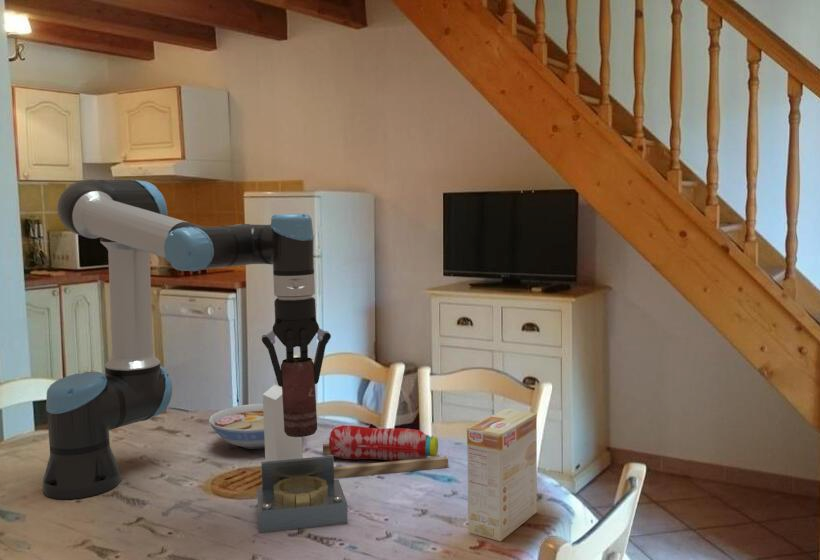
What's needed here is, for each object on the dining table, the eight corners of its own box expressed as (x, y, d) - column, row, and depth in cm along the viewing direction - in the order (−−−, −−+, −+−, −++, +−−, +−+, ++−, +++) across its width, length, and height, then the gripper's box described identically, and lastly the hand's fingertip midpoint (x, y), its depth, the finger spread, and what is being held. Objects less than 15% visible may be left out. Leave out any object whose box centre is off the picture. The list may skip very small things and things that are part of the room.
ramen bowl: (226, 429, 198) (224, 399, 197) (312, 429, 197) (311, 398, 196) (195, 462, 173) (193, 427, 172) (293, 462, 172) (292, 427, 171)
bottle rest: (331, 478, 162) (331, 469, 161) (322, 452, 179) (322, 444, 178) (448, 467, 167) (448, 458, 167) (428, 443, 184) (428, 435, 184)
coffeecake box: (505, 504, 147) (505, 407, 145) (538, 512, 143) (538, 412, 140) (465, 532, 134) (465, 426, 132) (501, 542, 130) (500, 433, 128)
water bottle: (341, 419, 183) (442, 424, 178) (340, 452, 182) (442, 458, 178) (326, 426, 171) (434, 431, 166) (325, 461, 170) (434, 468, 166)
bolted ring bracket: (259, 532, 136) (257, 484, 135) (257, 506, 147) (256, 462, 146) (347, 523, 139) (346, 476, 138) (338, 498, 151) (337, 455, 150)
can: (301, 426, 145) (297, 354, 144) (323, 431, 141) (320, 357, 140) (276, 434, 140) (272, 360, 139) (299, 439, 136) (295, 363, 135)
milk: (278, 488, 157) (274, 385, 154) (265, 479, 162) (261, 379, 159) (304, 480, 161) (300, 380, 158) (290, 473, 165) (287, 375, 163)
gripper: (259, 301, 134) (264, 430, 136) (332, 297, 136) (336, 424, 139) (258, 296, 141) (263, 419, 143) (327, 293, 144) (331, 413, 146)
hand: (299, 421), depth 141 cm, fingers closed
